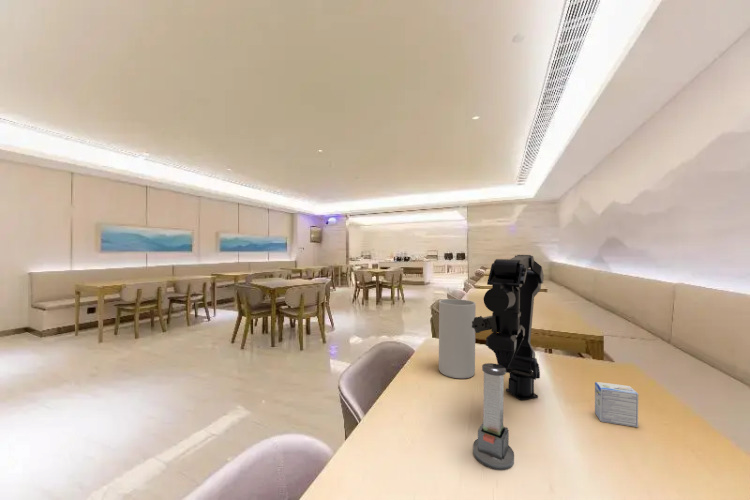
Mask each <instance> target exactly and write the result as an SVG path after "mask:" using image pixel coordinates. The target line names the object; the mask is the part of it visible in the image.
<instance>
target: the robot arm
mask: <svg viewBox="0 0 750 500" xmlns="http://www.w3.org/2000/svg"><path fill="white" fill-rule="evenodd" d="M488 274H489V275H488V278H487V283H486V284H487V285H488V286H492V287H491V288H490V289H488V290H487V291H486V292H485V293H484V295H483V304H484V306H485V307H486V309H487V310H488V311H490V312H492V315H487V316H482V315H480V316H475V318H474V320H473V321H472V328H474V329H475V334H478V333H481V332H484V331H490V330H491V333H490V334H489V335H488V336H487V337H486V338H485V339H486V340H485V346H487V348H488V349H489V350H491V351H492V352H493V353H494V355H495V359H496V362H497V363H496V364H498V365H501V366H503V367H505V368H506V373H507V374H509V378H508V388H505V391H506V392H507V393H509V394H510V395H512V396H513V397H515V398H517V399H518V400H520V401H525V400H531V399H536V398H537V399H538V398H539V395H538V394H536V393H535V381H536V380H537V379H540V378H541V371H540V370H541V369H540V364H539V363H538V360H537V358H536V352H535V350H534V347H533V346H532V344H531V339H532V338H531V337H532V325H533V313H534V304H535V303H534V301H535V297H536V296H537V295H538V293H540V291H541V290H542V289H541V287H542V284H544V278H545V275H544V271H543V267H542V266H541V264H539V263H538V262H537V261H536V260H535V258H534V256H533V255H531V254H517V255H514V257H512V258H510V259H509V258H507V259H506V258H504V259H503V258H496V259H494V261H493V263H492V264H491V267H490V270H489V273H488Z"/></svg>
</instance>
